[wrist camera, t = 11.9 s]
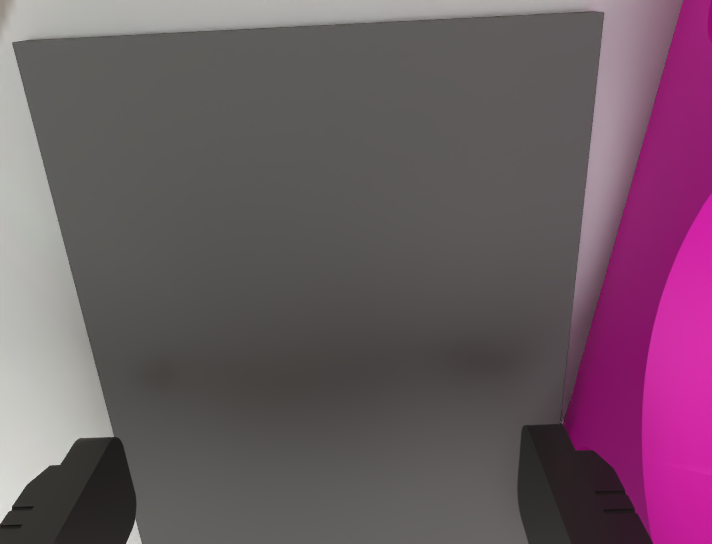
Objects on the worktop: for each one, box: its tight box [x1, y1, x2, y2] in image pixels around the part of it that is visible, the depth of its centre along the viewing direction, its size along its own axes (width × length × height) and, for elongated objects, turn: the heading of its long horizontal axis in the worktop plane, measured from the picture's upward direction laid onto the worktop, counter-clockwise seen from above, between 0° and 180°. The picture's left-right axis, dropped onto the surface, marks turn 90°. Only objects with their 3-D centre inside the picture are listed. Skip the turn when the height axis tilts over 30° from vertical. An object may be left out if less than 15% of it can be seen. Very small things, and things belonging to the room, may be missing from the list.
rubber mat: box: [12, 11, 604, 544], centre depth 16 cm, size 16×12×1 cm
